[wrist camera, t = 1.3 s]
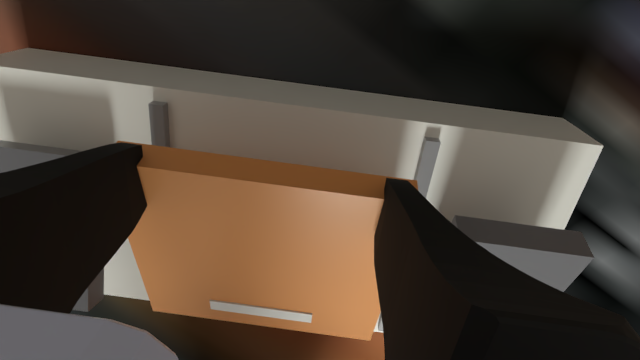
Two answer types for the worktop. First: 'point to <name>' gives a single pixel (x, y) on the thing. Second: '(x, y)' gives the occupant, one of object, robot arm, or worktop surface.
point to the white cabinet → (299, 135)
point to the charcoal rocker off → (20, 155)
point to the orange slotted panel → (259, 241)
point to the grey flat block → (531, 248)
